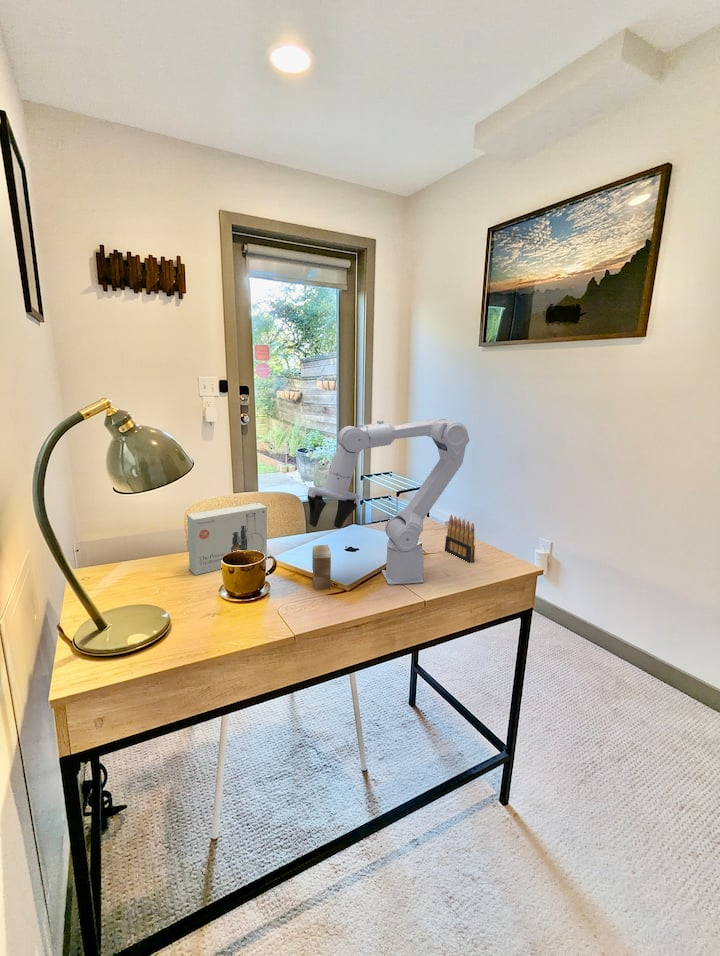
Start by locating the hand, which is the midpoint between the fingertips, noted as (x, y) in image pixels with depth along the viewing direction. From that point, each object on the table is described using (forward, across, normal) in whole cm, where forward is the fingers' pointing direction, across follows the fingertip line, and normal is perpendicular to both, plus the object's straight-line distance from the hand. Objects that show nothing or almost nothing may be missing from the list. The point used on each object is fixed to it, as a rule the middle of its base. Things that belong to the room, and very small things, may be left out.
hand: (325, 526), depth 110 cm
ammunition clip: (+3, -46, +9) cm, 47 cm away
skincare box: (+22, +10, -23) cm, 34 cm away
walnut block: (+15, -3, +1) cm, 16 cm away
